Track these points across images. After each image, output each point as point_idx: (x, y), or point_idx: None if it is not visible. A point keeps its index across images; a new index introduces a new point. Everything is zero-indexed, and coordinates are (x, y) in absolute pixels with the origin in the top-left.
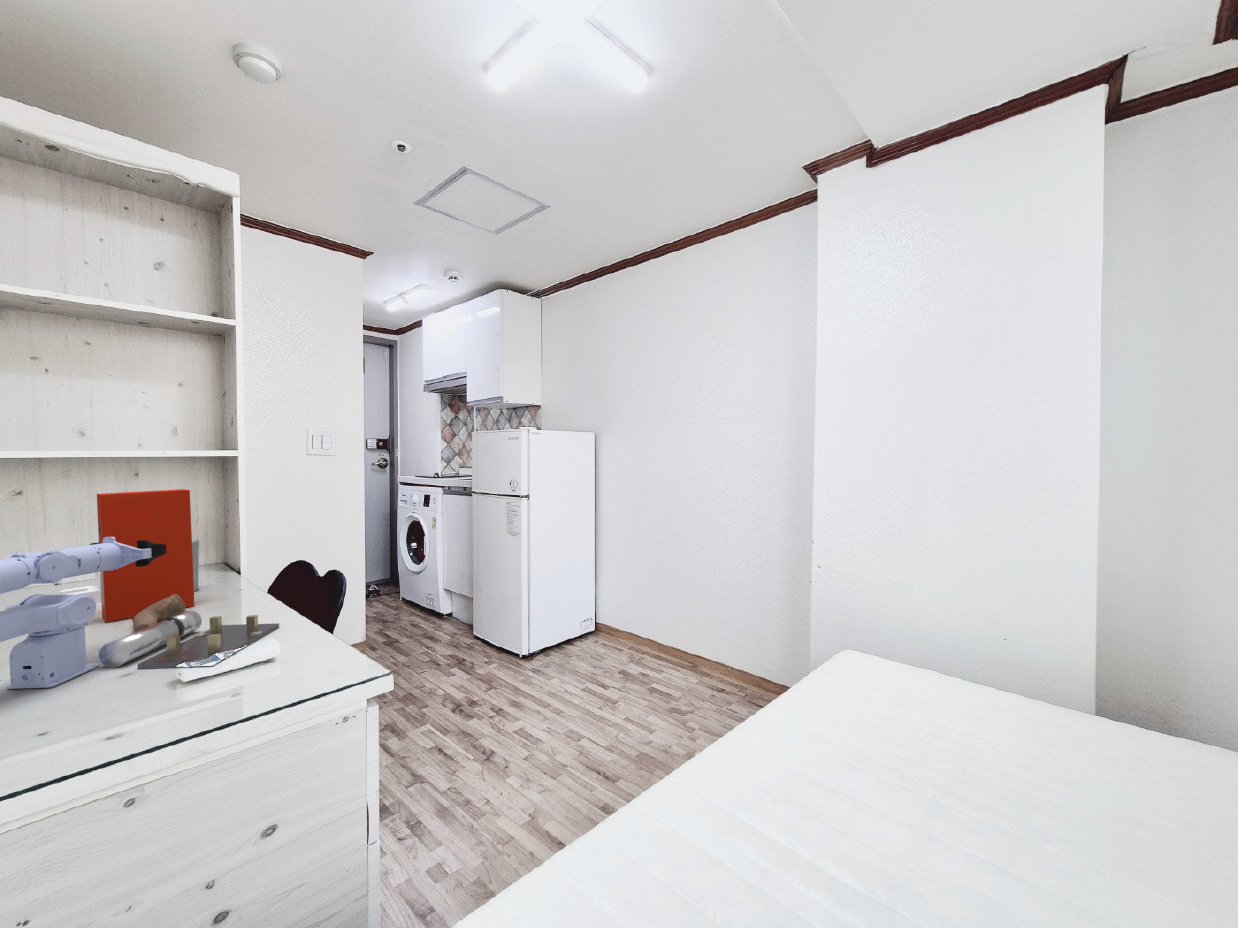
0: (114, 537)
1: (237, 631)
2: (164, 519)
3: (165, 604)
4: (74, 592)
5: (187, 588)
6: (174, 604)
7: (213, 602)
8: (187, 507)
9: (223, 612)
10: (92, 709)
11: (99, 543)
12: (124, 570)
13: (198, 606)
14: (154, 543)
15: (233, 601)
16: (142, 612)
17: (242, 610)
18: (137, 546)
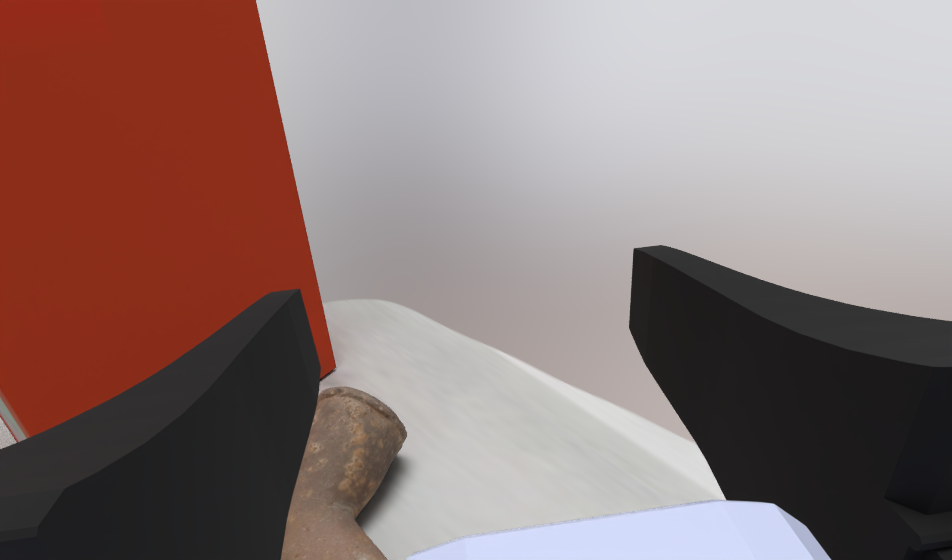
0: (809, 534)
1: None
2: (159, 26)
3: (355, 455)
4: None
5: (309, 322)
6: (381, 441)
7: (371, 339)
8: None
9: (502, 406)
10: None
11: (42, 554)
12: (78, 320)
13: (350, 368)
14: (824, 300)
15: (432, 329)
16: (296, 529)
17: (552, 387)
18: (946, 485)
